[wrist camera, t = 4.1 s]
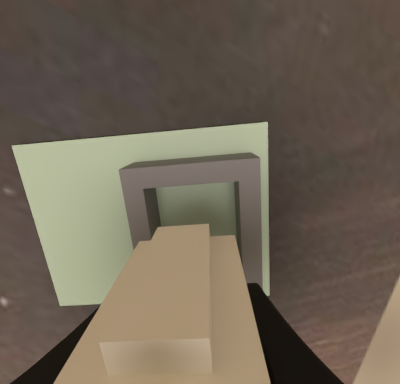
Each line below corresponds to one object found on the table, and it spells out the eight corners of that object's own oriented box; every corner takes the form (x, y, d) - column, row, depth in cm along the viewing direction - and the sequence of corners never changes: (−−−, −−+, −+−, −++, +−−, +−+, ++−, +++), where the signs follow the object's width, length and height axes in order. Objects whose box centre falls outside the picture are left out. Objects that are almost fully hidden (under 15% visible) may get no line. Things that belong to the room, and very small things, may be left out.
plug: (238, 314, 11) (275, 539, 5) (153, 318, 11) (89, 538, 5) (233, 216, 9) (275, 365, 4) (136, 223, 10) (25, 373, 4)
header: (267, 288, 19) (280, 325, 15) (65, 298, 20) (35, 335, 16) (264, 122, 15) (281, 120, 12) (21, 144, 16) (-30, 149, 13)
